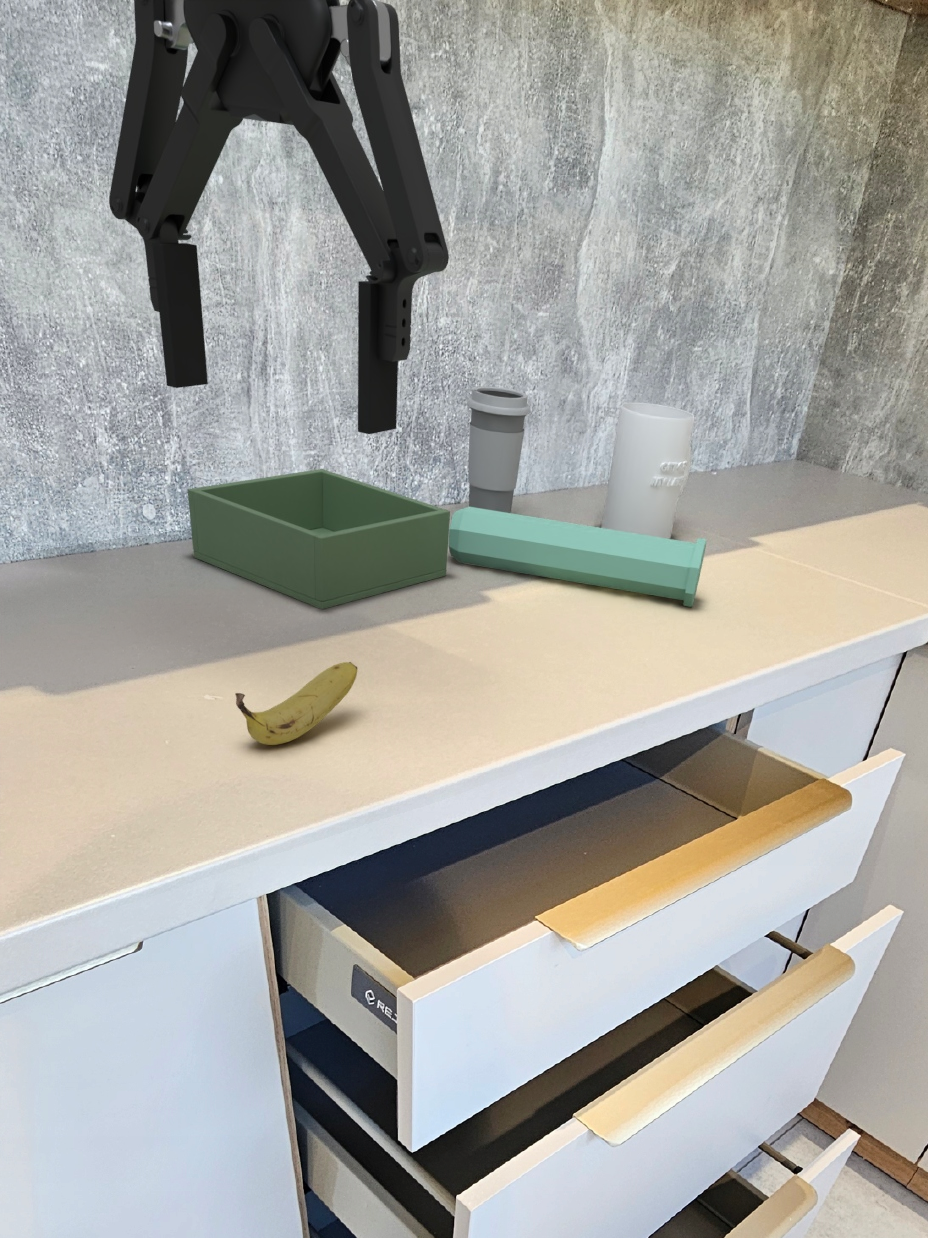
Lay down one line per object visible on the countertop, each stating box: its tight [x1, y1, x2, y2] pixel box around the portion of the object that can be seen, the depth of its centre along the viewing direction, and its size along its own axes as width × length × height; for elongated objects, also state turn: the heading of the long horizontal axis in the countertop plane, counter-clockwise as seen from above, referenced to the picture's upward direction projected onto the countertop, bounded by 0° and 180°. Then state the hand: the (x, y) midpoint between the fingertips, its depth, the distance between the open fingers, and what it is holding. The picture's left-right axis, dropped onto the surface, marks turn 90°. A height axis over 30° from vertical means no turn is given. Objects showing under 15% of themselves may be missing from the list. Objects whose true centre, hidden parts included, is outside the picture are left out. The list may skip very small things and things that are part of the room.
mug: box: [601, 402, 695, 539], centre depth 111 cm, size 8×12×12 cm
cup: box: [466, 385, 531, 513], centre depth 109 cm, size 7×7×12 cm
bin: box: [187, 468, 451, 610], centre depth 92 cm, size 17×17×6 cm
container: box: [448, 506, 708, 608], centre depth 98 cm, size 6×6×25 cm
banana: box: [234, 661, 358, 746], centre depth 66 cm, size 10×2×4 cm, turn 140°
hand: (279, 408), depth 58 cm, fingers open, 13 cm apart
